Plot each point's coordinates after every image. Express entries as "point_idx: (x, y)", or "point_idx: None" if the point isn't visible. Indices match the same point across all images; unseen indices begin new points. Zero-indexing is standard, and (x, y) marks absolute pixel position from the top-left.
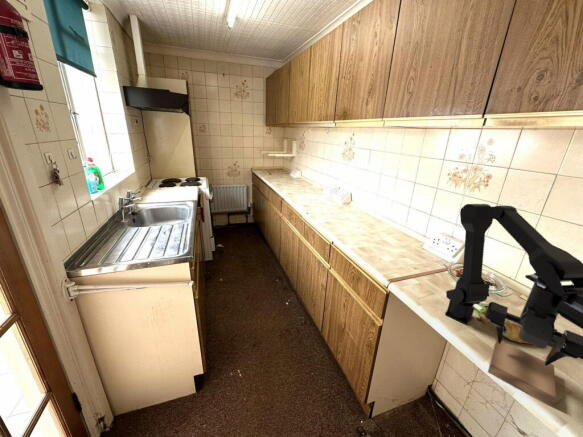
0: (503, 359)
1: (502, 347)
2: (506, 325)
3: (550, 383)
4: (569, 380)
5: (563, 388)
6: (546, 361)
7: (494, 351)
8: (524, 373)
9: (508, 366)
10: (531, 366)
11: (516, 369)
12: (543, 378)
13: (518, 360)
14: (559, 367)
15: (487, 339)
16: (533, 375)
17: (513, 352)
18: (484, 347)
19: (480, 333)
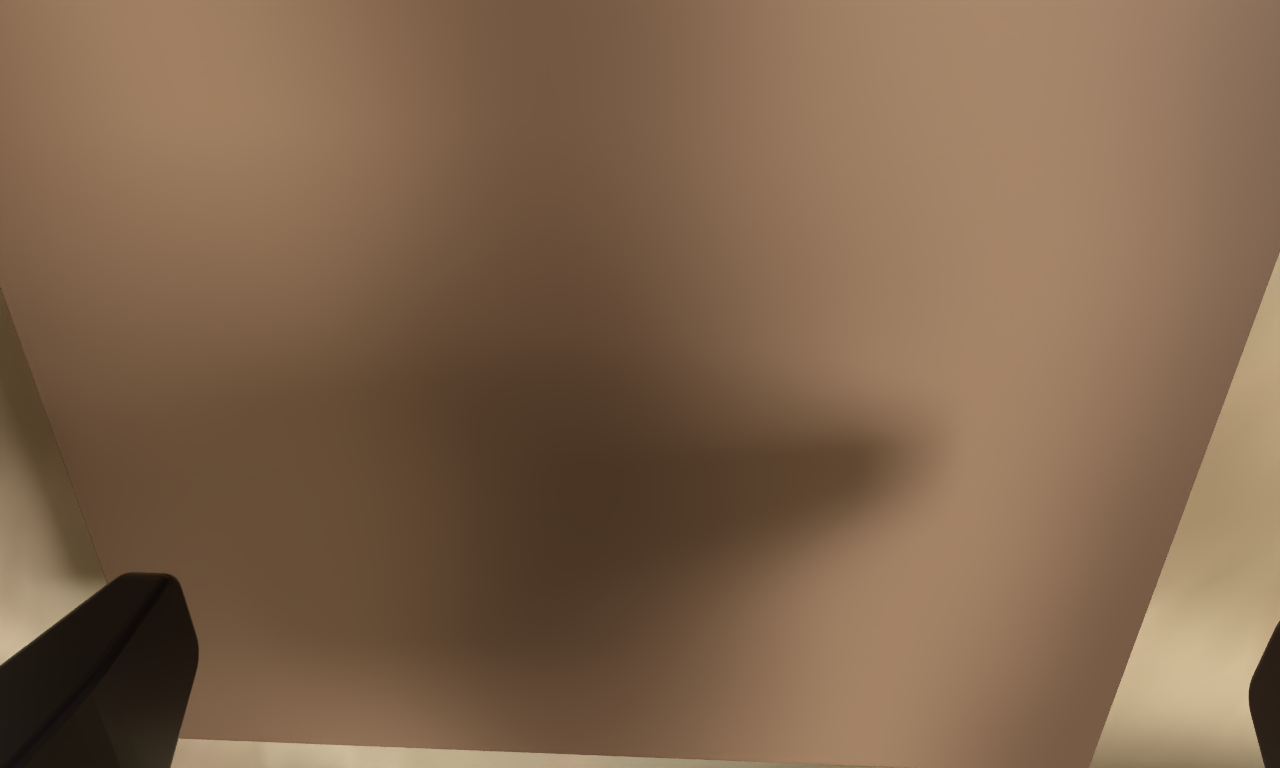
0: (1035, 234)
1: (1005, 621)
2: None
3: (48, 179)
4: (23, 616)
5: (17, 396)
6: (106, 675)
7: (1220, 378)
8: (558, 69)
9: (935, 34)
10: (456, 448)
11: (742, 72)
12: (194, 238)
13: (702, 447)
14: (180, 764)
15: (1114, 705)
16: (377, 172)
17: (795, 618)
18: (1207, 488)
19: (1214, 765)
